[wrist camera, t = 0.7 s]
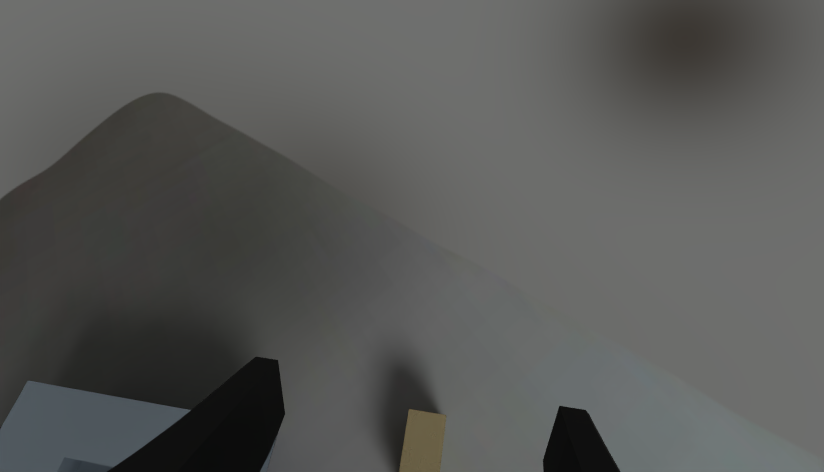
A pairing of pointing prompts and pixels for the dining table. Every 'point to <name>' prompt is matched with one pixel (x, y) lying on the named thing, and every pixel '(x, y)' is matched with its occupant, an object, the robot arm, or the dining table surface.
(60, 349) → the dining table surface
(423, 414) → the brass block
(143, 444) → the grey block with hole
